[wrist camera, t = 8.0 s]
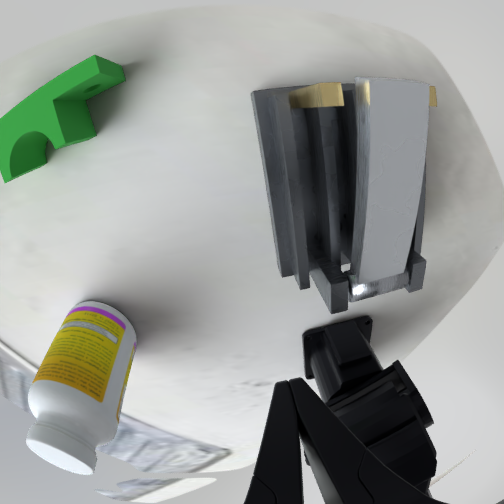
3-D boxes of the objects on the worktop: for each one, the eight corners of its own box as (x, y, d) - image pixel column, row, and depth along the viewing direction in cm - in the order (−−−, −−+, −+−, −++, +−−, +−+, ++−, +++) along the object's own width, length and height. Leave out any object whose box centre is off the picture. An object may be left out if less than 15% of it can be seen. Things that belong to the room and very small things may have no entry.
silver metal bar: (391, 274, 17) (404, 293, 16) (341, 287, 17) (351, 308, 16) (414, 79, 10) (439, 86, 8) (344, 76, 10) (366, 81, 8)
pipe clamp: (17, 183, 16) (-20, 202, 12) (3, 140, 14) (-36, 152, 10) (138, 116, 16) (112, 118, 11) (122, 65, 14) (93, 53, 10)
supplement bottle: (57, 301, 21) (-8, 421, 9) (121, 293, 21) (68, 440, 9) (89, 356, 24) (52, 471, 12) (149, 353, 24) (127, 486, 12)
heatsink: (398, 241, 21) (448, 286, 15) (278, 266, 21) (300, 329, 15) (394, 85, 16) (460, 84, 10) (250, 93, 16) (268, 80, 10)
